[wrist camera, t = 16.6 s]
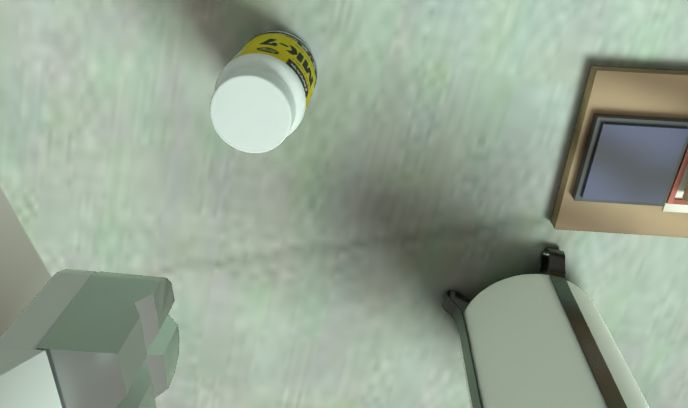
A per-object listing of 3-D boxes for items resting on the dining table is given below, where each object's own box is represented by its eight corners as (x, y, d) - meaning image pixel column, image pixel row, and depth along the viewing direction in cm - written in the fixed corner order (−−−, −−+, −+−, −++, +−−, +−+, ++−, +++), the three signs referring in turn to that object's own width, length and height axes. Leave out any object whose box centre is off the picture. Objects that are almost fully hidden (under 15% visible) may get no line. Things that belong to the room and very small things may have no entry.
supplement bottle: (333, 64, 41) (320, 112, 32) (287, 120, 43) (263, 179, 34) (269, 11, 39) (236, 45, 30) (224, 72, 41) (182, 121, 33)
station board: (591, 65, 40) (602, 74, 38) (805, 77, 39) (828, 87, 37) (550, 221, 46) (558, 236, 44) (734, 233, 46) (751, 248, 44)
